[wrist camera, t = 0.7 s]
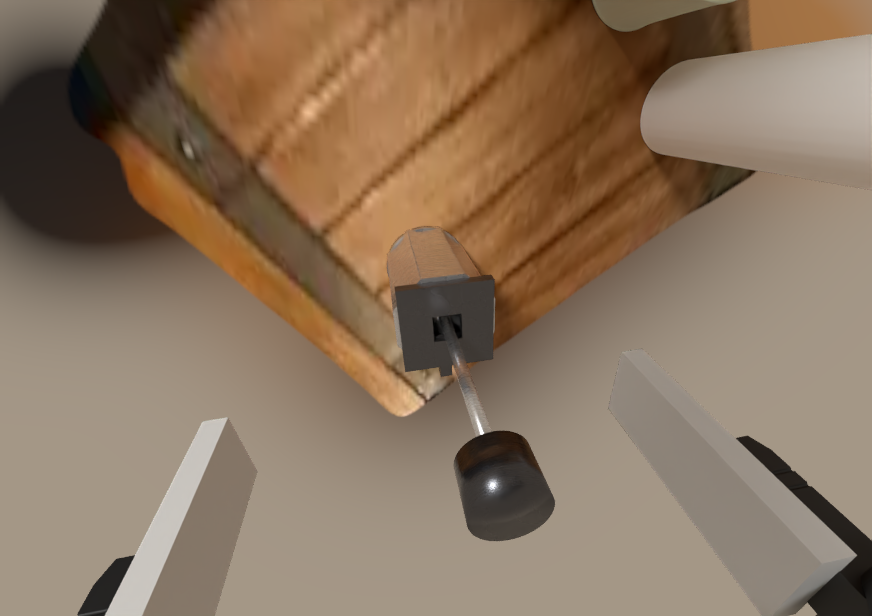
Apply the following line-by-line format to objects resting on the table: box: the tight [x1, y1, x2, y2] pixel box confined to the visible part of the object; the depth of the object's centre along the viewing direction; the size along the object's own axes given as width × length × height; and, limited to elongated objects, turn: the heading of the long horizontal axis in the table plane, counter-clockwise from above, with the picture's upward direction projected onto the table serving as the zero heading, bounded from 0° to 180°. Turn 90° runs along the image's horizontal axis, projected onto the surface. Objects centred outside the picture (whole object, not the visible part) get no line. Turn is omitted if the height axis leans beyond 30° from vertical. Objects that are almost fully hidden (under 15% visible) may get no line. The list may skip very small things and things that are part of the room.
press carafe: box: [387, 226, 495, 377], centre depth 40 cm, size 12×10×15 cm
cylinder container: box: [640, 34, 872, 190], centre depth 28 cm, size 9×9×30 cm
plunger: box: [432, 314, 555, 541], centre depth 26 cm, size 7×7×20 cm
